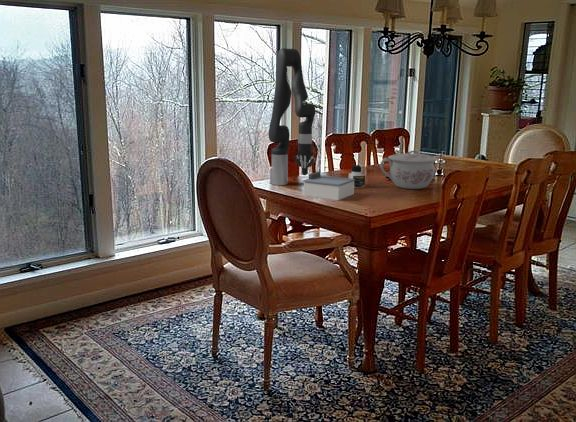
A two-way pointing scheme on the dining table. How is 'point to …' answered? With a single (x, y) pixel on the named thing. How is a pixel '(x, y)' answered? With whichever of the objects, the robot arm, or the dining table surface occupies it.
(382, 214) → the dining table surface
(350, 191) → the box
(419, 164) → the chamber pot
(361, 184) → the medicine bottle
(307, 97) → the robot arm
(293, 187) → the dining table surface
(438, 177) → the dining table surface
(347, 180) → the lid
